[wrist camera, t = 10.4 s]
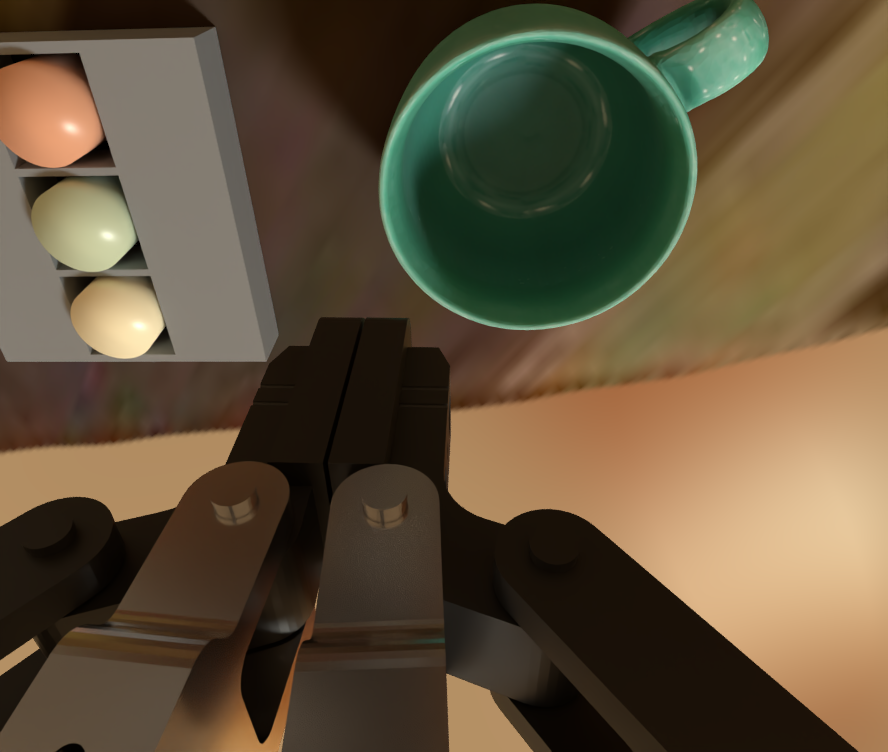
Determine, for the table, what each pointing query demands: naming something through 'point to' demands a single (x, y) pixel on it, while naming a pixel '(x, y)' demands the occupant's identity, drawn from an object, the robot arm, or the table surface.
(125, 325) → the button cream
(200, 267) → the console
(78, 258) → the button sage
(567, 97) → the mug
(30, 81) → the button terracotta
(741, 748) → the robot arm
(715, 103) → the table surface
